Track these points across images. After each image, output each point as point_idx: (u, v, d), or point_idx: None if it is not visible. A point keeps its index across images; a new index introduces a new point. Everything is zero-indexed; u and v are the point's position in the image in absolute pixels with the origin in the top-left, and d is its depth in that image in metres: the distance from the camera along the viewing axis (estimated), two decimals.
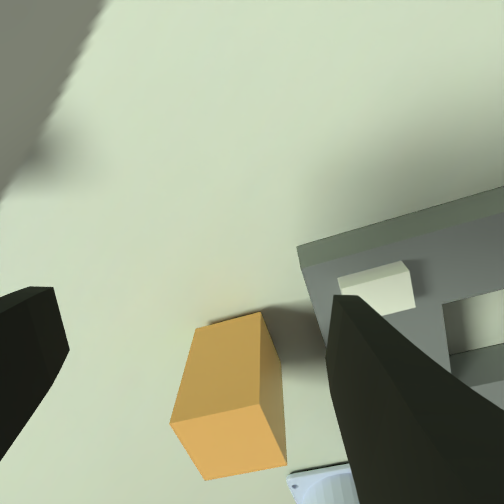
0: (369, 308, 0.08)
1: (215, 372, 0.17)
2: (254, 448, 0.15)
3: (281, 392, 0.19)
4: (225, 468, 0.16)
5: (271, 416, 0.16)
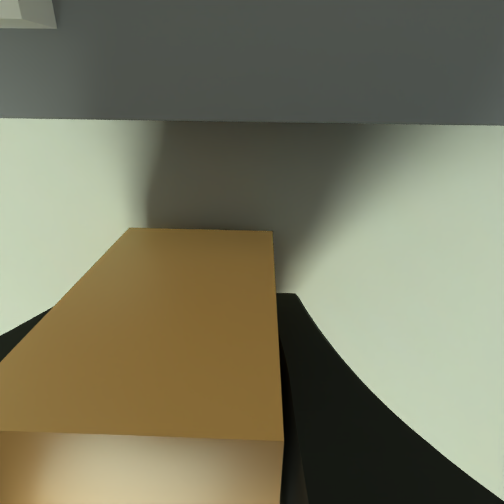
0: (298, 306, 0.08)
1: None
2: (161, 493, 0.04)
3: (260, 274, 0.07)
4: None
5: (109, 383, 0.05)
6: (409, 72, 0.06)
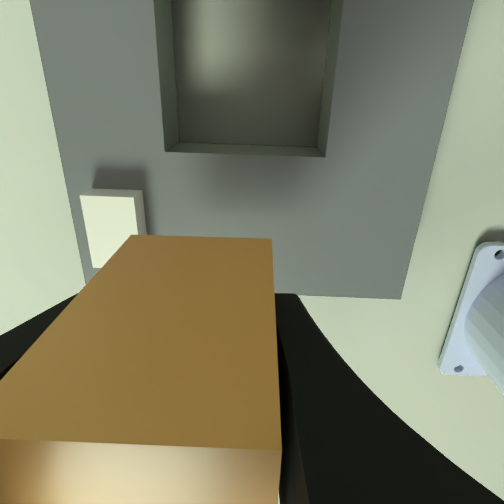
0: (299, 306, 0.08)
1: None
2: (164, 498, 0.05)
3: (260, 283, 0.08)
4: None
5: (114, 392, 0.05)
6: (295, 277, 0.15)
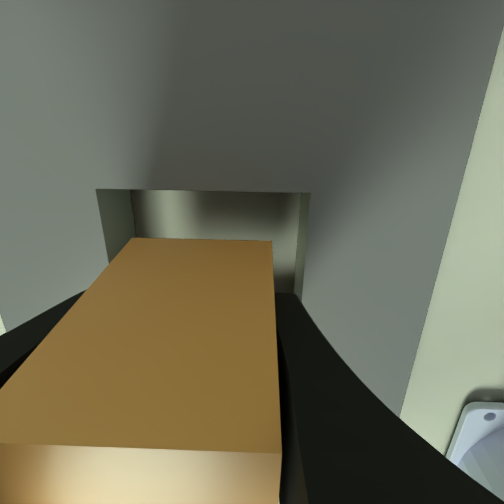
0: (298, 306, 0.08)
1: None
2: (166, 501, 0.05)
3: (260, 286, 0.08)
4: None
5: (116, 397, 0.05)
6: None
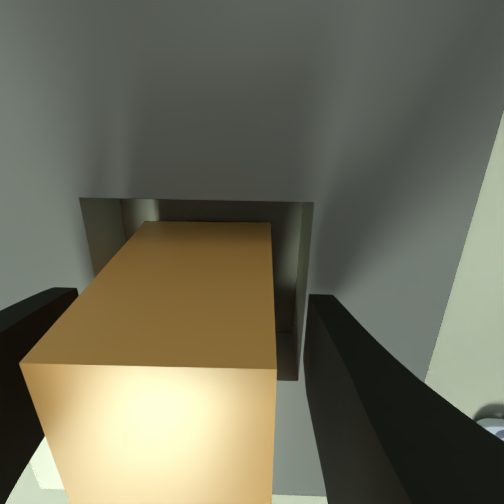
0: (341, 307, 0.08)
1: None
2: (184, 415, 0.06)
3: (260, 257, 0.09)
4: (241, 482, 0.07)
5: (143, 334, 0.06)
6: None
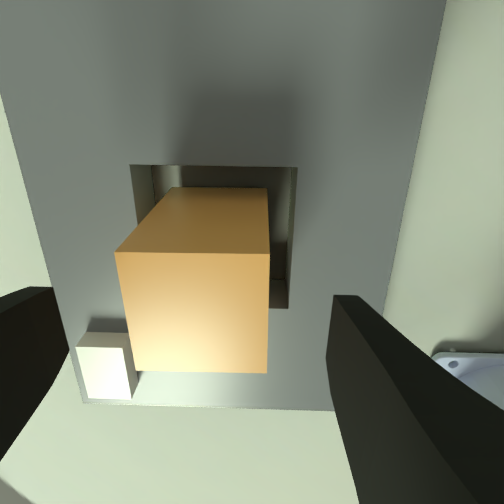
0: (368, 308, 0.08)
1: None
2: (213, 288, 0.09)
3: (259, 206, 0.12)
4: (247, 339, 0.10)
5: (186, 241, 0.10)
6: (267, 396, 0.17)
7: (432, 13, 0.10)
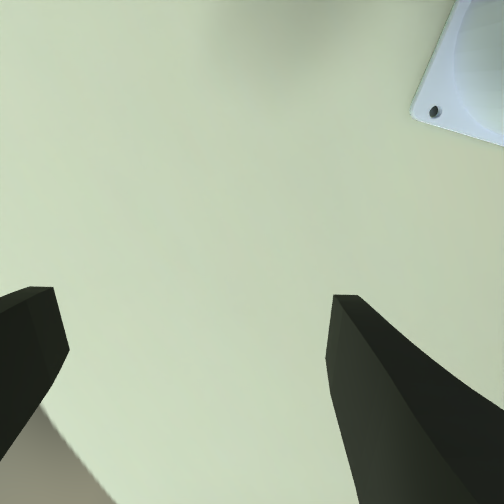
0: (369, 308, 0.08)
1: None
2: None
3: None
4: None
5: None
6: None
7: None
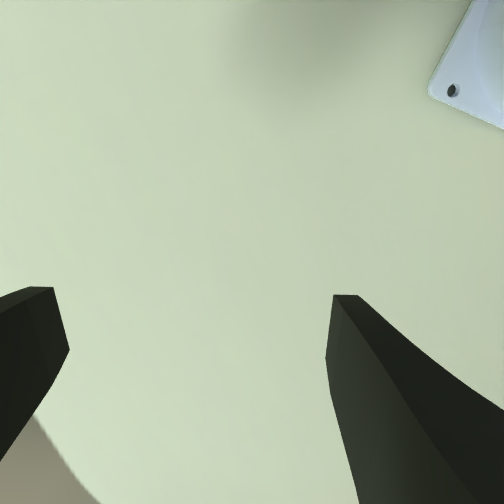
0: (369, 308, 0.08)
1: None
2: None
3: None
4: None
5: None
6: None
7: None
